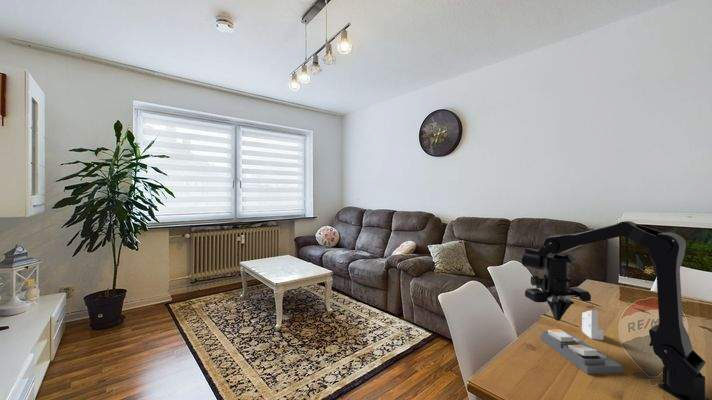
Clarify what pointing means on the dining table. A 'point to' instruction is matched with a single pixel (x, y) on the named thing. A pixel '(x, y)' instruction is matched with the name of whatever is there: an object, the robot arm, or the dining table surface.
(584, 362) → the grey stepped stand
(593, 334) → the white wedge bracket
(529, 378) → the dining table surface
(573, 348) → the near rocker
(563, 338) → the far rocker
